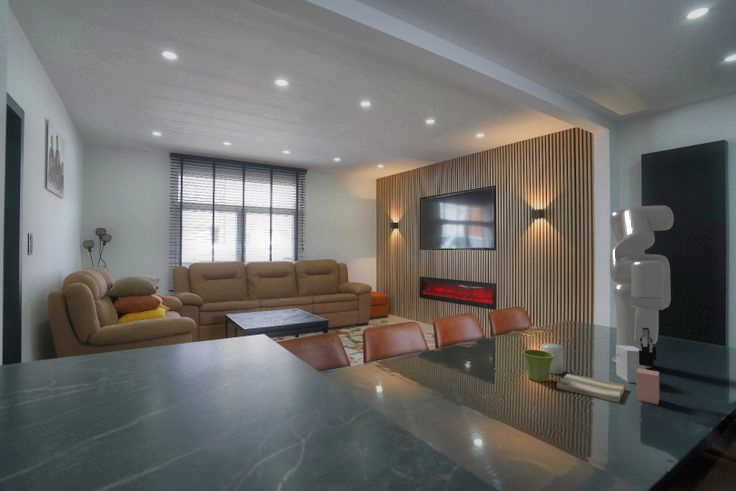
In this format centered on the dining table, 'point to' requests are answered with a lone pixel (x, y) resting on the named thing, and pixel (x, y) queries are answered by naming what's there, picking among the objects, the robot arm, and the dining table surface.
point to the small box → (627, 362)
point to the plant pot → (538, 364)
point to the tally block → (647, 386)
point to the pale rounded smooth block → (555, 357)
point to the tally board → (592, 387)
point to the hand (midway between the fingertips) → (647, 362)
